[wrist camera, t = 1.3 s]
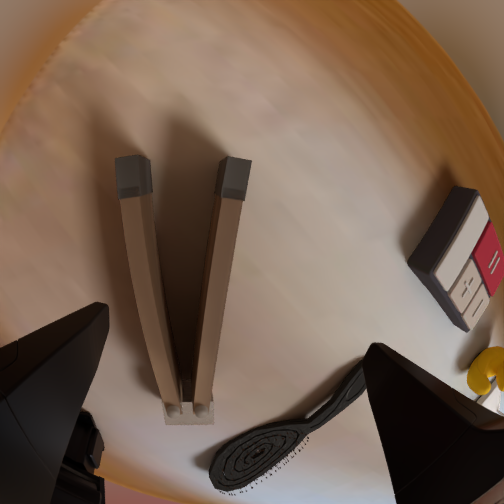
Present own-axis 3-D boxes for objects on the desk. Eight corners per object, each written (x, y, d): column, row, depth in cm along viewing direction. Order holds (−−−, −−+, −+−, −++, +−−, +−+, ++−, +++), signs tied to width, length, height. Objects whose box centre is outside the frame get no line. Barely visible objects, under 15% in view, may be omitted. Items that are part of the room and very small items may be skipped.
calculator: (471, 336, 28) (433, 276, 23) (449, 322, 32) (404, 262, 27) (510, 267, 28) (482, 188, 22) (488, 258, 32) (453, 183, 26)
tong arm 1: (189, 376, 25) (192, 418, 20) (219, 161, 21) (229, 155, 16) (205, 378, 25) (210, 419, 20) (238, 164, 21) (253, 160, 16)
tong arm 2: (168, 378, 24) (166, 419, 19) (131, 162, 20) (112, 157, 14) (183, 376, 25) (184, 418, 19) (150, 159, 20) (136, 153, 15)
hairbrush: (400, 382, 28) (243, 502, 28) (383, 367, 32) (237, 482, 31) (373, 347, 26) (194, 485, 25) (354, 332, 29) (191, 463, 28)
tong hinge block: (166, 402, 25) (165, 424, 22) (163, 379, 25) (161, 402, 22) (210, 401, 26) (214, 424, 23) (210, 379, 26) (213, 401, 23)
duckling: (499, 326, 35) (539, 350, 26) (496, 348, 37) (532, 372, 27) (459, 365, 34) (500, 397, 25) (456, 386, 36) (493, 417, 26)
